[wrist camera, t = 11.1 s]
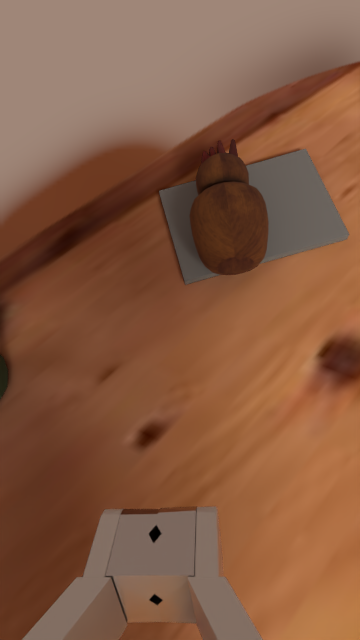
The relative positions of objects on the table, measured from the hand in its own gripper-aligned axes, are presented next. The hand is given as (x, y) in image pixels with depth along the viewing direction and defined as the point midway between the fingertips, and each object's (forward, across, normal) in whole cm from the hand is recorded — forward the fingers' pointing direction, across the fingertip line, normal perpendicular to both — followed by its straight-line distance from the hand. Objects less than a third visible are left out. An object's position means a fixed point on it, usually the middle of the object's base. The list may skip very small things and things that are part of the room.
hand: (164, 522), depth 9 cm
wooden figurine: (+22, -4, 0) cm, 22 cm away
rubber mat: (+30, -6, -3) cm, 31 cm away
